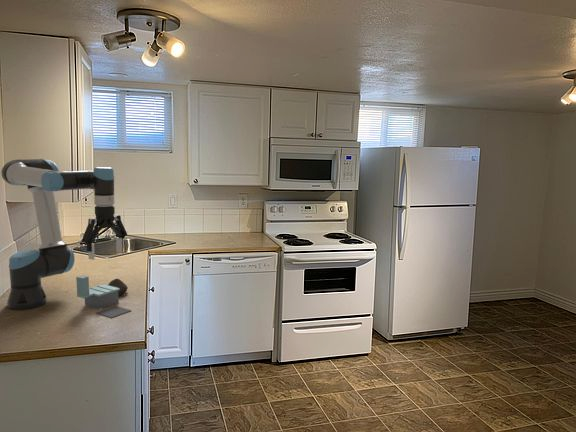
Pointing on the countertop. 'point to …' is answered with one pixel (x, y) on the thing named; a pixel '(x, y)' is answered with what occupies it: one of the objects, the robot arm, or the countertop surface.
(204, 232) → the countertop surface
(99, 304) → the tub
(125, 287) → the stone
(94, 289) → the pale blue ridged block
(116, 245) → the robot arm
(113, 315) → the mat
